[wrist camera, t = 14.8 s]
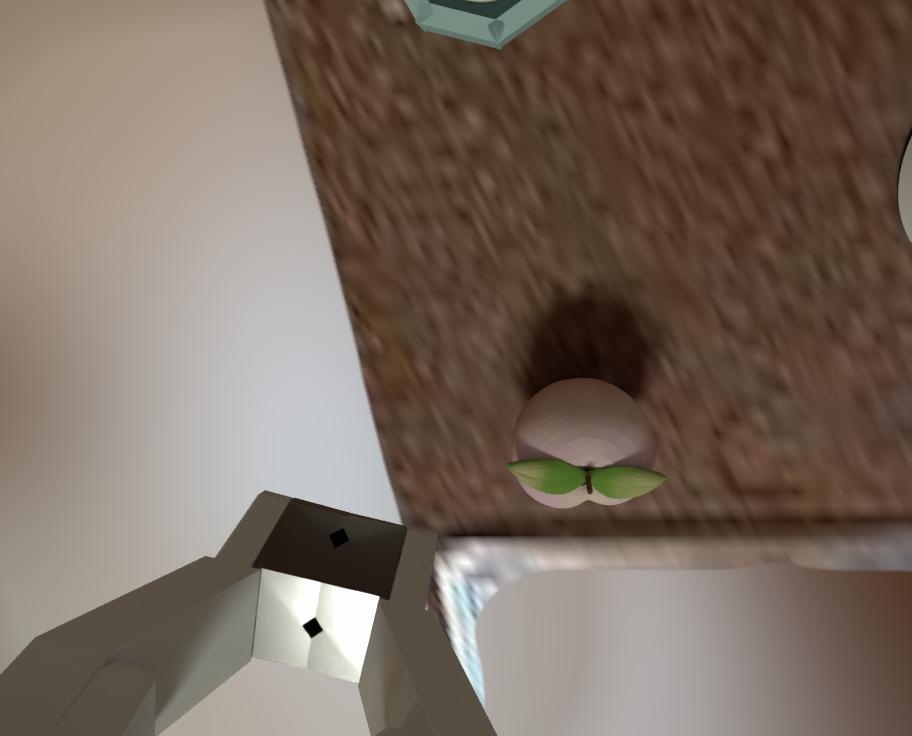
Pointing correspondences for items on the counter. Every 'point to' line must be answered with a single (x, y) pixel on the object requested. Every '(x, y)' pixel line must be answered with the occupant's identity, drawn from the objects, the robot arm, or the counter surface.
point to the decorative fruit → (583, 445)
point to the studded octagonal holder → (480, 18)
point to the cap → (480, 1)
